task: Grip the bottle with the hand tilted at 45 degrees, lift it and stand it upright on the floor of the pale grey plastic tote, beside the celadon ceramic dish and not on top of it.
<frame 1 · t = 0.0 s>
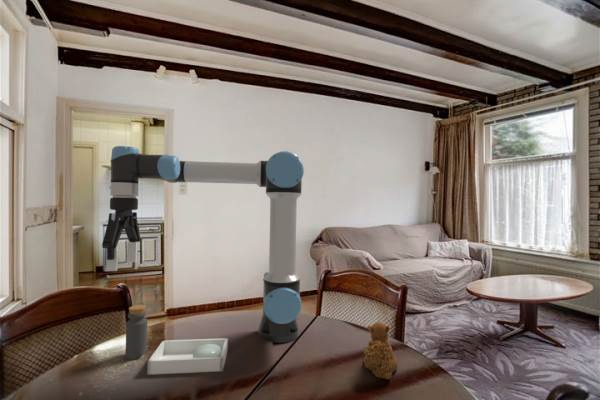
hand: (122, 266, 95), 28 cm above the table, tool pointing down, fingers open, 13 cm apart
tote: (190, 364, 91), on the table
brown fuzzy plush figure: (380, 372, 89), on the table
bottle: (136, 356, 96), on the table
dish: (206, 360, 92), point 1 cm above the table, touching tote
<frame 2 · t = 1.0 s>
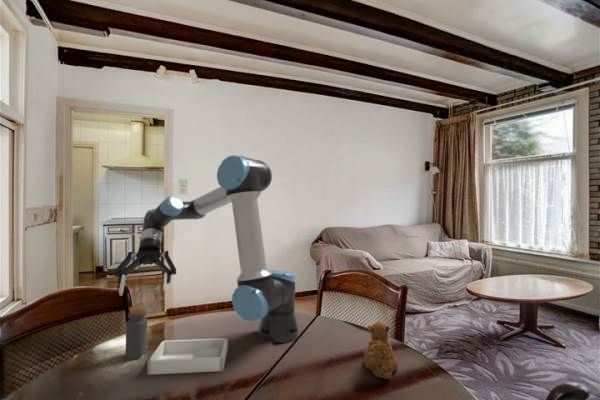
hand: (143, 292, 106), 17 cm above the table, tool tilted 45°, fingers open, 13 cm apart
nothing on the table moved.
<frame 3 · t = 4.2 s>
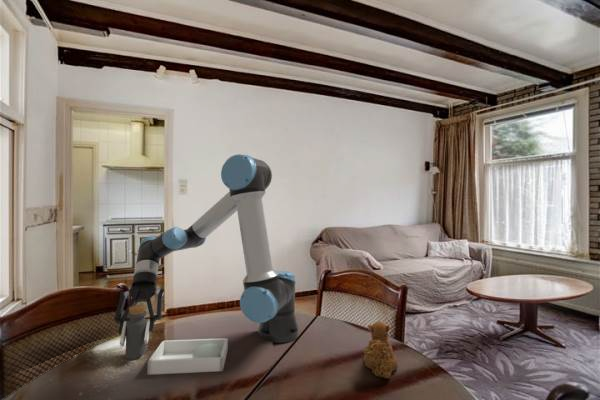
hand: (134, 343, 93), 5 cm above the table, tool tilted 45°, fingers closed on bottle, 6 cm apart
bottle: (136, 356, 96), on the table, touching gripper
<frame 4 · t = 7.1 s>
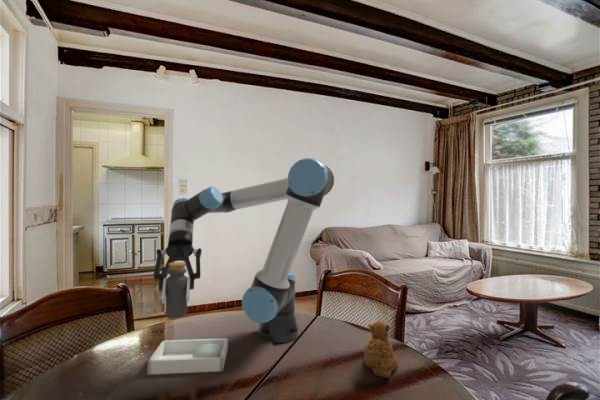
hand: (175, 299, 88), 20 cm above the table, tool tilted 45°, fingers closed on bottle, 6 cm apart
bottle: (176, 314, 91), point 15 cm above the table, touching gripper
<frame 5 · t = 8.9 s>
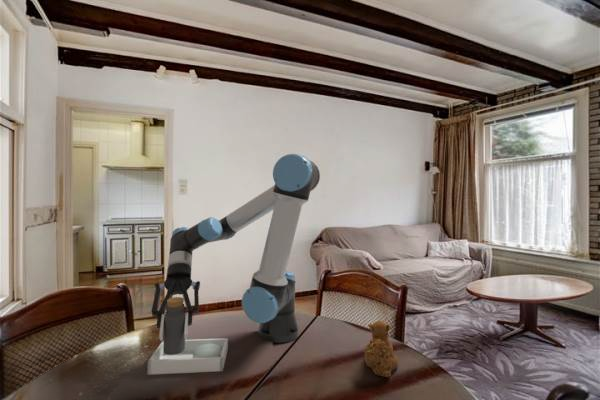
hand: (173, 337, 88), 10 cm above the table, tool tilted 45°, fingers closed on bottle, 6 cm apart
bottle: (174, 351, 91), point 4 cm above the table, touching gripper
when the fingers open (8 cm above the table, at t = 10.1 s): bottle drops 1 cm, resting on tote.
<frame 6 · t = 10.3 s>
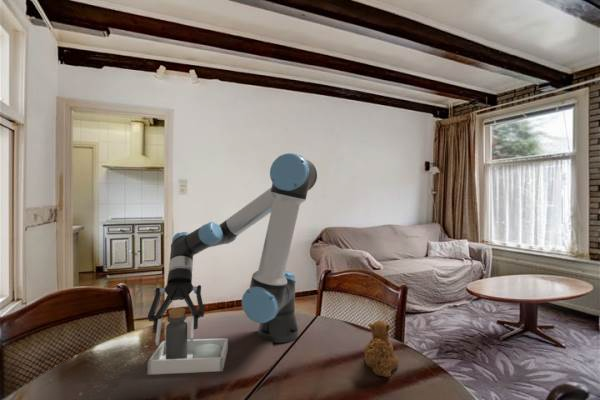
hand: (174, 341, 88), 8 cm above the table, tool tilted 45°, fingers open, 8 cm apart
bottle: (176, 361, 91), point 1 cm above the table, touching tote
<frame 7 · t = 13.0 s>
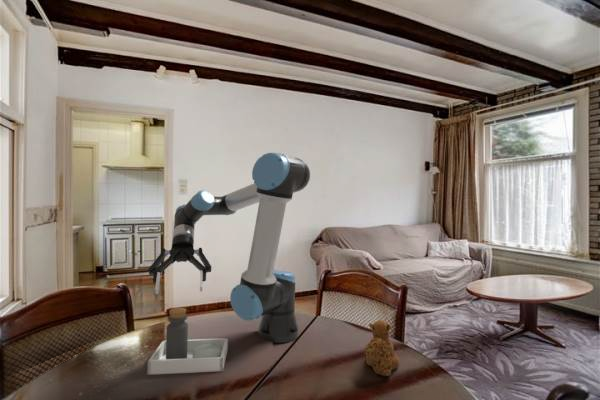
hand: (179, 290, 101), 19 cm above the table, tool tilted 45°, fingers open, 13 cm apart
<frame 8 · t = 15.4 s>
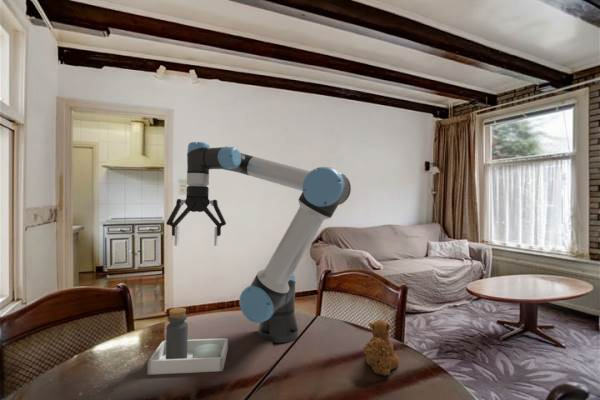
hand: (196, 245, 110), 33 cm above the table, tool pointing down, fingers open, 13 cm apart
at the end: bottle inside the target area on the tote (0.6 cm from its centre), point 0.8 cm above the tote's base; bottle tilted 0°; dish moved 0.1 cm from its start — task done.
